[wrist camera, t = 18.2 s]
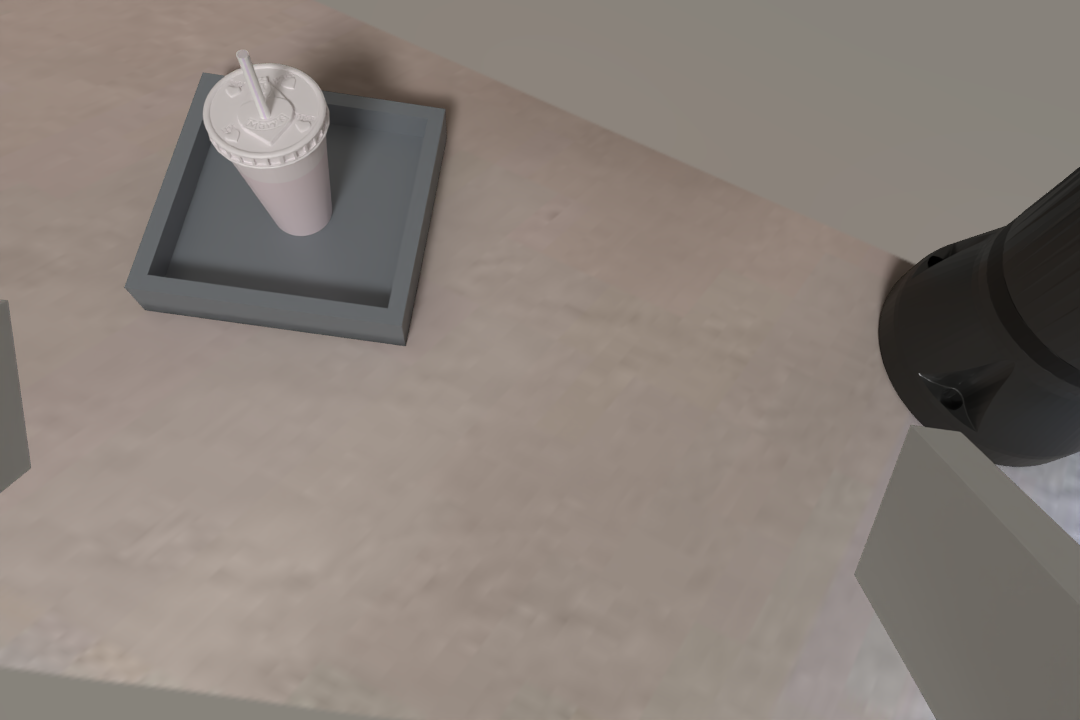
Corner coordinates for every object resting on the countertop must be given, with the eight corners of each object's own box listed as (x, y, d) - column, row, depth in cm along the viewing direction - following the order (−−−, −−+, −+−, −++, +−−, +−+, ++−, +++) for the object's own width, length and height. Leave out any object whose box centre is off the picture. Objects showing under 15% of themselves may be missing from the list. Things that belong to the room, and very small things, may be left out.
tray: (446, 138, 53) (445, 109, 50) (405, 345, 47) (401, 326, 44) (216, 103, 52) (202, 72, 49) (145, 310, 46) (124, 287, 43)
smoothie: (257, 263, 47) (175, 108, 34) (245, 178, 49) (164, 3, 36) (361, 244, 48) (319, 88, 35) (345, 162, 50) (300, -13, 37)
